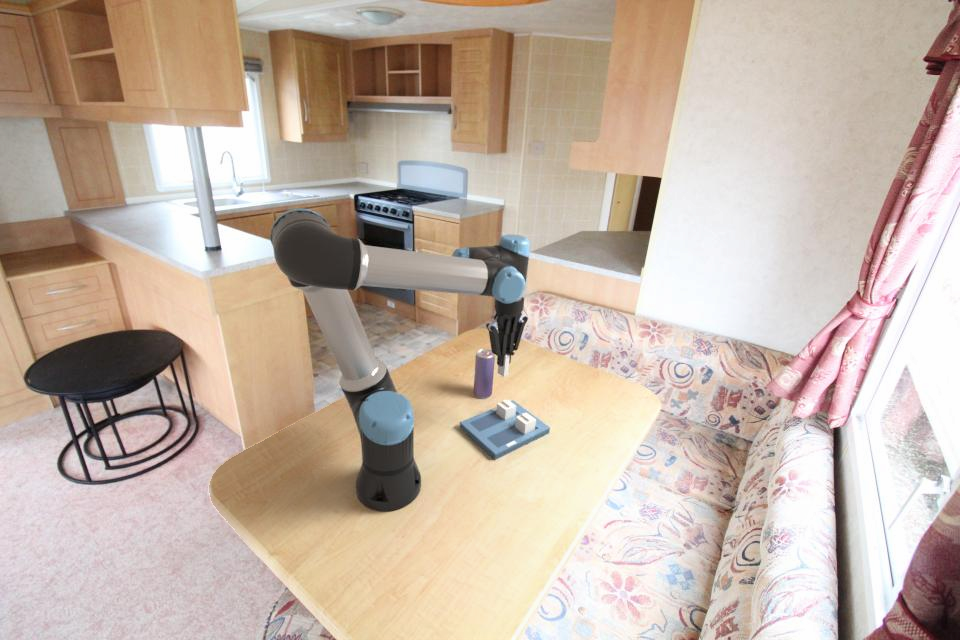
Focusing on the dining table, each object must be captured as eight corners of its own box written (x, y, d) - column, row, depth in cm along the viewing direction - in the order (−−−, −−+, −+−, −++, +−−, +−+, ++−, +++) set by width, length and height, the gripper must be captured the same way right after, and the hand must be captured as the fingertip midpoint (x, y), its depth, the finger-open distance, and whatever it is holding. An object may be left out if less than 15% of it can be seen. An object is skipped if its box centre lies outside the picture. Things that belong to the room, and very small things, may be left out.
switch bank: (495, 460, 121) (495, 453, 120) (459, 427, 132) (460, 421, 132) (549, 433, 132) (550, 427, 132) (512, 405, 144) (513, 399, 143)
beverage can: (491, 400, 146) (495, 358, 140) (473, 398, 146) (475, 357, 140) (491, 389, 151) (495, 349, 145) (473, 388, 151) (476, 348, 145)
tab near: (524, 434, 129) (525, 422, 127) (514, 427, 132) (516, 415, 130) (534, 429, 131) (536, 417, 129) (525, 422, 134) (526, 410, 132)
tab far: (504, 420, 134) (506, 408, 132) (496, 413, 137) (497, 401, 135) (515, 415, 136) (516, 404, 135) (506, 408, 139) (507, 397, 138)
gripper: (499, 305, 113) (493, 387, 123) (538, 295, 120) (529, 373, 130) (481, 295, 118) (475, 374, 128) (519, 286, 126) (511, 362, 135)
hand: (502, 374), depth 129 cm, fingers closed
